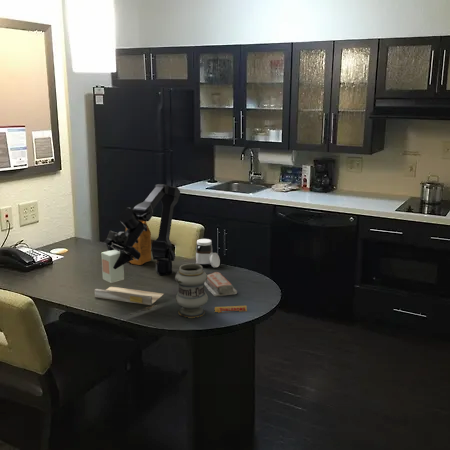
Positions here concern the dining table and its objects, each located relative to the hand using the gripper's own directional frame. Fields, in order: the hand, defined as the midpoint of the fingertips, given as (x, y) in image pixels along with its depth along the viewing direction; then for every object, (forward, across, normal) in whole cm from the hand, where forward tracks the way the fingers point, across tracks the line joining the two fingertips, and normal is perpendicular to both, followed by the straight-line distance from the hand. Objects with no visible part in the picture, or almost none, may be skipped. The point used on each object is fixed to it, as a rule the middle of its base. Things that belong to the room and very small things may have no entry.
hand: (109, 266), depth 206 cm
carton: (+3, 0, +5) cm, 6 cm away
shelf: (+6, +6, +12) cm, 15 cm away
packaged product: (-18, +21, +37) cm, 46 cm away
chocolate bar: (-9, +41, +28) cm, 51 cm away
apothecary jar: (-1, +33, +19) cm, 38 cm away
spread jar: (-29, -4, +48) cm, 57 cm away
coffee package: (-14, -30, +33) cm, 47 cm away
